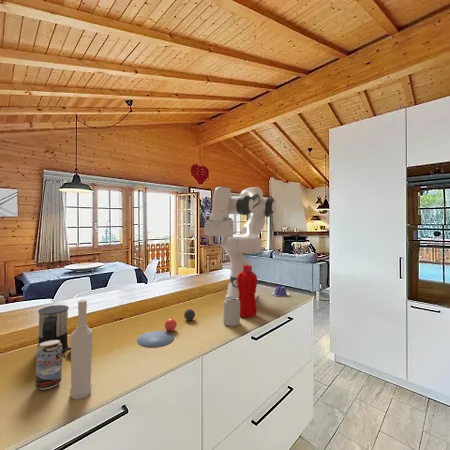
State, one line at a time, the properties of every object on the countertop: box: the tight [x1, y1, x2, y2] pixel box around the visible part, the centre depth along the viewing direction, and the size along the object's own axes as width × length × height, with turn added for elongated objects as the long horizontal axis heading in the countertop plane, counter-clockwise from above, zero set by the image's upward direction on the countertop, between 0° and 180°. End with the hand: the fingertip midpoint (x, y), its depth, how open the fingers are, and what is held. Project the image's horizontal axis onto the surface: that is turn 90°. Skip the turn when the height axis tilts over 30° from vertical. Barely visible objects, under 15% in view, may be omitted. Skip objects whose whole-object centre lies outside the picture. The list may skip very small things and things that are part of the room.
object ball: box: [164, 318, 178, 332], centre depth 113 cm, size 5×5×5 cm
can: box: [223, 296, 241, 328], centre depth 122 cm, size 8×8×12 cm
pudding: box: [270, 285, 291, 298], centre depth 174 cm, size 12×12×5 cm
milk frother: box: [37, 304, 71, 354], centre depth 94 cm, size 14×16×15 cm
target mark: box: [136, 330, 175, 348], centre depth 105 cm, size 14×14×1 cm
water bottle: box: [237, 264, 258, 319], centre depth 134 cm, size 9×11×25 cm
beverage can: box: [34, 340, 63, 390], centre depth 75 cm, size 6×7×12 cm
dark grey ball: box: [183, 308, 196, 321], centre depth 126 cm, size 5×5×5 cm
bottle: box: [69, 299, 94, 400], centre depth 71 cm, size 5×5×25 cm
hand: (217, 245), depth 134 cm, fingers open, 8 cm apart
